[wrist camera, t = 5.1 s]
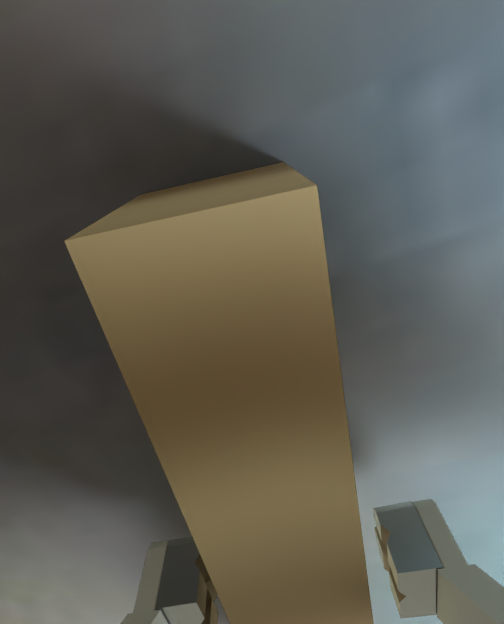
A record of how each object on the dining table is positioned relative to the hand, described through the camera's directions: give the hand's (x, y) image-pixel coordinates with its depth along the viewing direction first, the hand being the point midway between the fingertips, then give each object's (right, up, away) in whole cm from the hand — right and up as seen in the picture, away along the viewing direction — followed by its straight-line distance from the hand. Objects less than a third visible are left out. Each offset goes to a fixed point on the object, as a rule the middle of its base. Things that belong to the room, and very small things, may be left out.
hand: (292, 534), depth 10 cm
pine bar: (0, +1, +2) cm, 2 cm away
